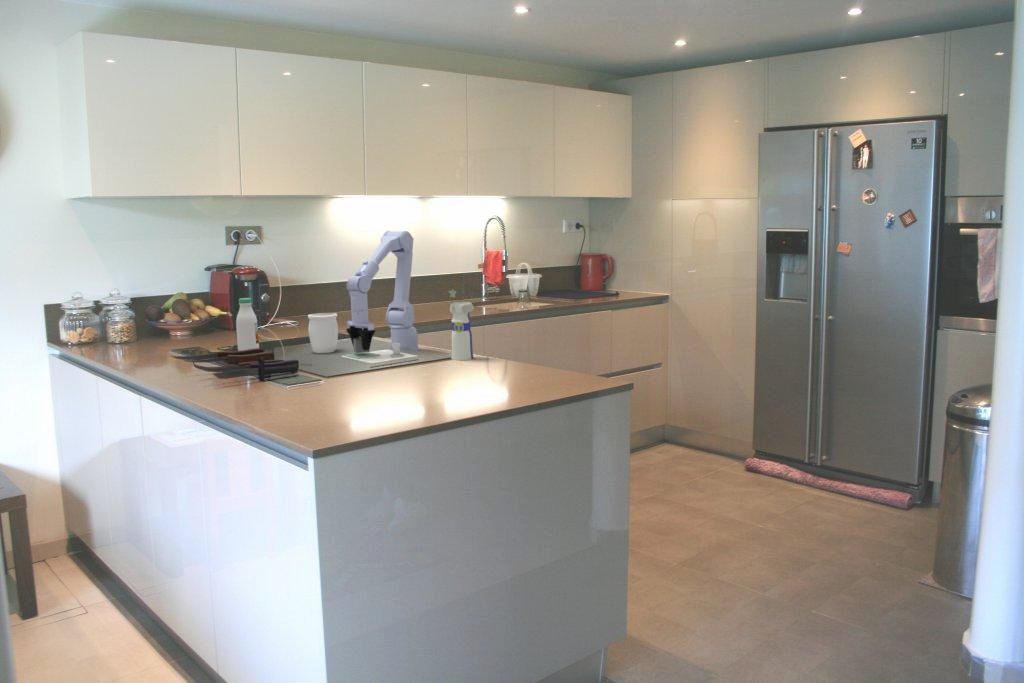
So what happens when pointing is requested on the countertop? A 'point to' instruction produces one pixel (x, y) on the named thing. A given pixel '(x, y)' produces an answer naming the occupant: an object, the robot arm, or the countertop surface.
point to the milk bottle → (246, 326)
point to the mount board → (386, 356)
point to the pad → (361, 355)
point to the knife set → (244, 363)
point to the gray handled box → (358, 345)
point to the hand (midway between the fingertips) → (361, 348)
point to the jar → (323, 332)
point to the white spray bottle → (461, 330)
